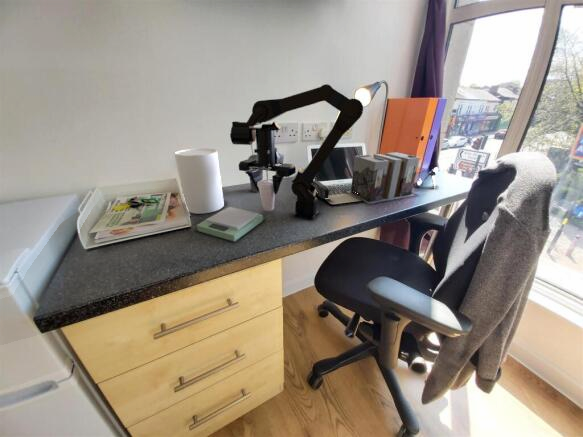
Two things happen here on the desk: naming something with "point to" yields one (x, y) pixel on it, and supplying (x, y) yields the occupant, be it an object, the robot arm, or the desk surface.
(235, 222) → the scale
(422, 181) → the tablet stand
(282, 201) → the desk surface
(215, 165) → the canister
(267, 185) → the smoothie
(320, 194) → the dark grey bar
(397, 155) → the bookend
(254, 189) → the beverage cup
